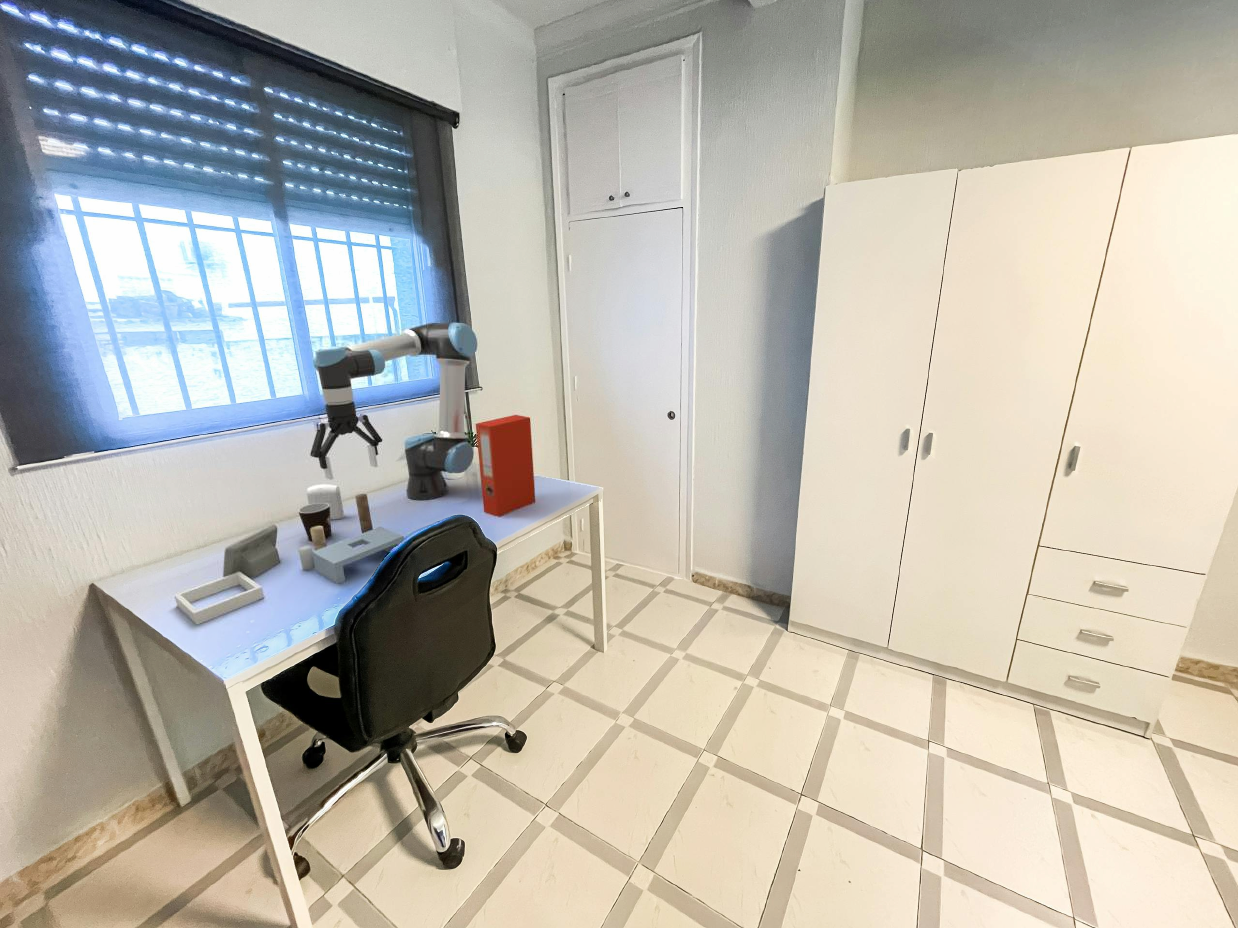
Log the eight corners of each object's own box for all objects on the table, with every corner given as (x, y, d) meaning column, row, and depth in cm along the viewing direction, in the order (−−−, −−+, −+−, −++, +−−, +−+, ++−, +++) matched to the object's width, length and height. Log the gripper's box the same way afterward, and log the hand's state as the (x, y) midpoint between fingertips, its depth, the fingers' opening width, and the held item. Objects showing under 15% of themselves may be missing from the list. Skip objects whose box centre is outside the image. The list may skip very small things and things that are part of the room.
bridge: (383, 544, 158) (380, 526, 157) (406, 554, 152) (403, 536, 150) (316, 571, 143) (311, 551, 141) (337, 583, 136) (333, 563, 134)
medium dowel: (325, 552, 154) (319, 524, 151) (330, 555, 152) (324, 527, 149) (314, 556, 151) (308, 528, 149) (319, 559, 150) (313, 531, 147)
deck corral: (242, 581, 138) (239, 571, 137) (264, 597, 130) (261, 586, 130) (177, 605, 128) (173, 594, 127) (197, 624, 120) (193, 613, 119)
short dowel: (312, 563, 147) (308, 544, 146) (317, 566, 146) (313, 547, 144) (300, 568, 145) (296, 548, 143) (305, 571, 143) (301, 551, 141)
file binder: (536, 502, 190) (530, 417, 180) (498, 517, 177) (490, 426, 168) (521, 497, 195) (514, 414, 185) (484, 512, 182) (475, 423, 172)
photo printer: (346, 515, 182) (340, 481, 178) (341, 519, 178) (335, 486, 174) (315, 517, 180) (308, 483, 177) (310, 521, 176) (302, 487, 173)
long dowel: (371, 537, 163) (363, 493, 159) (376, 539, 162) (369, 495, 157) (361, 541, 161) (353, 496, 156) (366, 543, 159) (358, 498, 155)
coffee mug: (321, 543, 160) (315, 513, 157) (298, 541, 161) (291, 512, 158) (347, 528, 170) (342, 500, 168) (325, 526, 172) (319, 498, 169)
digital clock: (273, 554, 154) (265, 521, 151) (294, 559, 150) (286, 525, 147) (215, 580, 139) (205, 544, 136) (237, 586, 136) (227, 549, 133)
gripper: (373, 394, 159) (384, 459, 166) (286, 408, 140) (302, 481, 147) (387, 396, 155) (397, 463, 162) (299, 411, 136) (315, 486, 143)
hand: (352, 472), depth 154 cm, fingers open, 13 cm apart
